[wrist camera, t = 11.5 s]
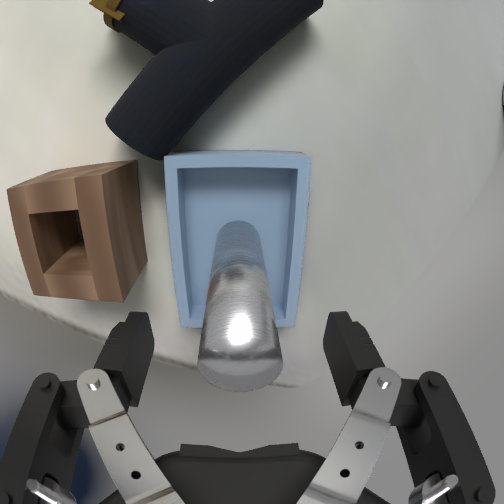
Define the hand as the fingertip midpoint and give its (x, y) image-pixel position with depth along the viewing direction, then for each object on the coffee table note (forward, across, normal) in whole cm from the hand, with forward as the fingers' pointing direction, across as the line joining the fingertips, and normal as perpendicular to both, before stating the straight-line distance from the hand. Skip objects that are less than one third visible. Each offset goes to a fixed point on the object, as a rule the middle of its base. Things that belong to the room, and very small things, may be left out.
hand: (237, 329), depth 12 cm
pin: (+10, 0, 0) cm, 10 cm away
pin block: (+11, +12, -2) cm, 16 cm away
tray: (+11, 0, 0) cm, 11 cm away
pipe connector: (+11, +4, -16) cm, 20 cm away
